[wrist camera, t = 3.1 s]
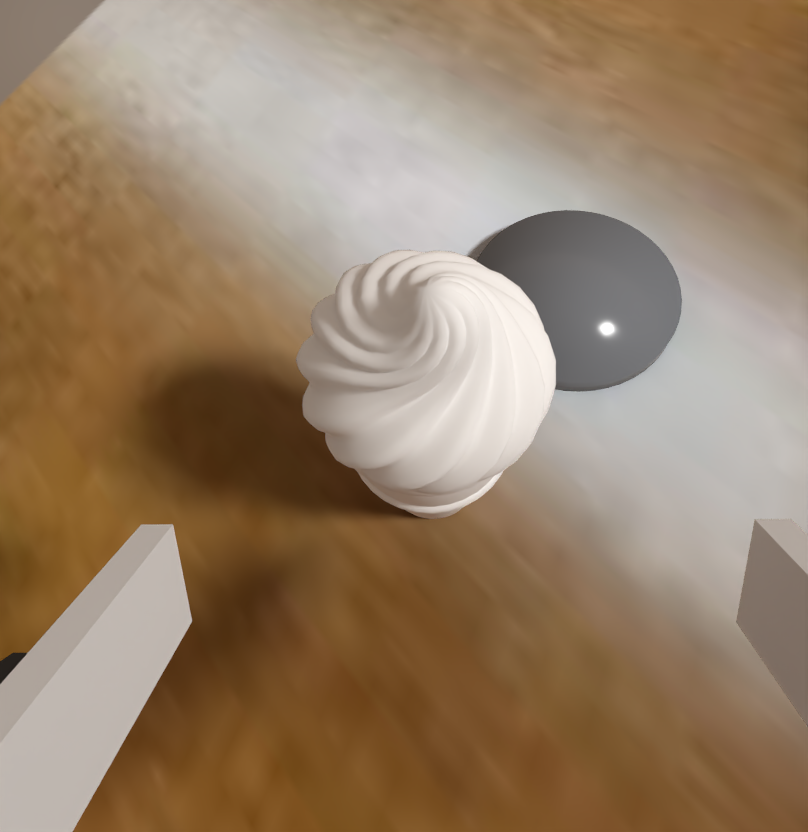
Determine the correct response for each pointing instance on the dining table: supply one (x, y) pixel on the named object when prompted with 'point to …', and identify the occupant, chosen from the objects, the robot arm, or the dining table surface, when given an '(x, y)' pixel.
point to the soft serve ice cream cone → (427, 377)
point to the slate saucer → (591, 293)
